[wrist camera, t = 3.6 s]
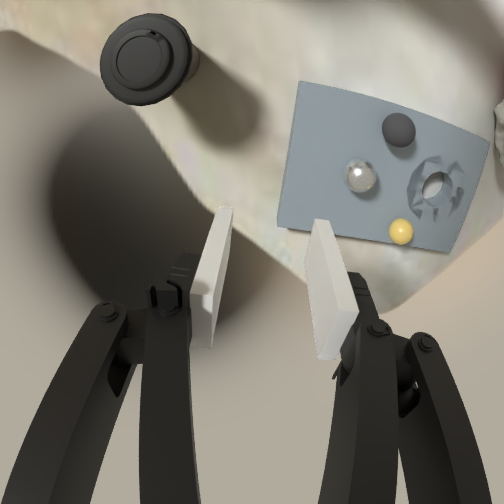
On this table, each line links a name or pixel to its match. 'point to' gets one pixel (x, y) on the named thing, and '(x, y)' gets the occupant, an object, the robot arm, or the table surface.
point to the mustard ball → (401, 231)
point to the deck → (387, 170)
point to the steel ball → (359, 175)
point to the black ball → (398, 130)
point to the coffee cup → (147, 59)
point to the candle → (500, 131)
